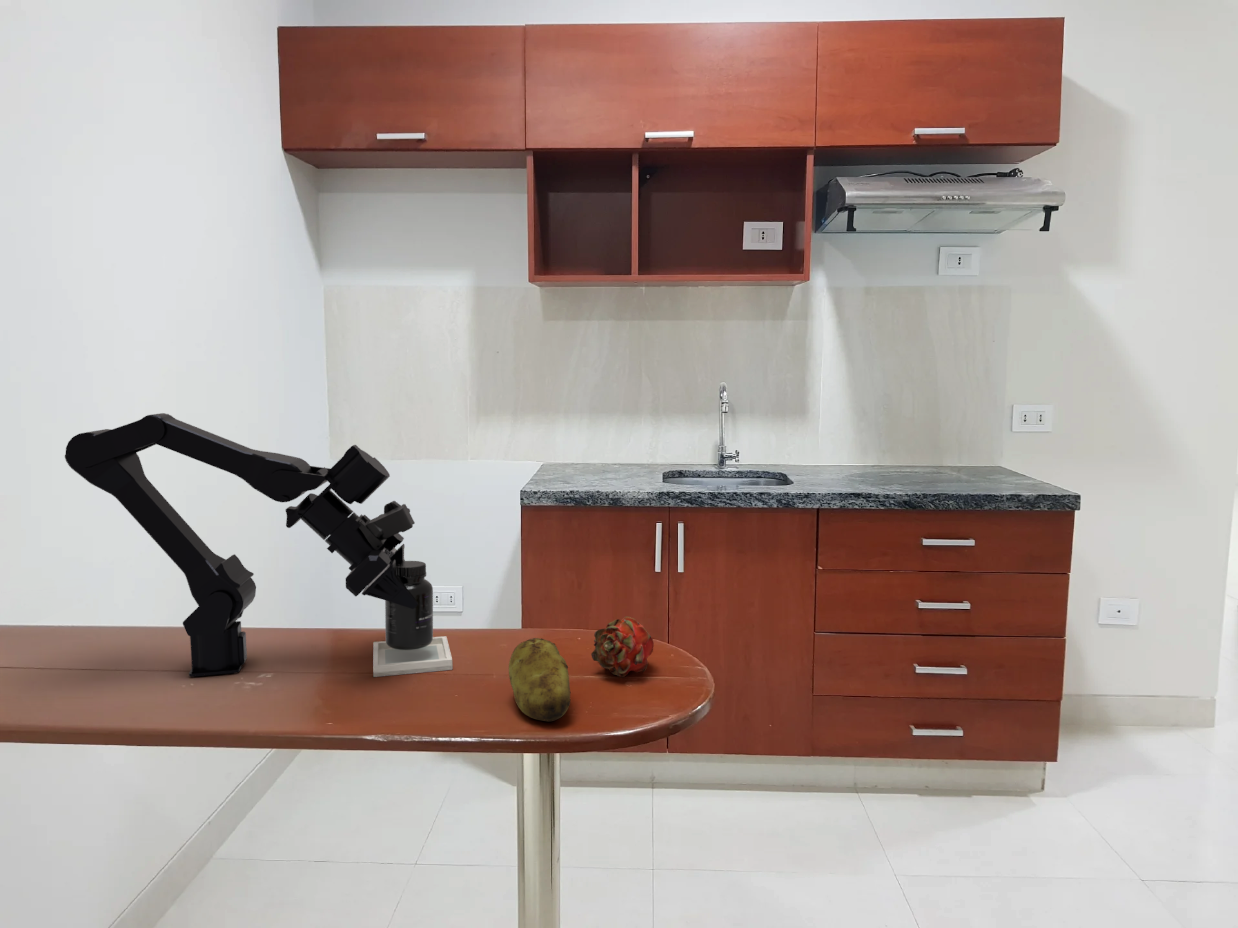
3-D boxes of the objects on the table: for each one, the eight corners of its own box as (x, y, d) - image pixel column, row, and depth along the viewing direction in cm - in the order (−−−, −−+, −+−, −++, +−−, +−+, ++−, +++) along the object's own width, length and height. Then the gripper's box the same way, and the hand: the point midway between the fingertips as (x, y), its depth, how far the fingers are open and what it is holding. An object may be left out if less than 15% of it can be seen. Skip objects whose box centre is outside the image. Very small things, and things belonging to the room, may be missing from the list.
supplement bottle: (432, 650, 122) (431, 569, 121) (383, 652, 121) (381, 570, 120) (434, 635, 129) (433, 558, 128) (388, 636, 128) (386, 559, 126)
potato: (501, 729, 102) (500, 665, 101) (512, 688, 115) (511, 631, 114) (570, 729, 102) (569, 665, 101) (573, 688, 115) (573, 631, 114)
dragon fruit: (610, 699, 115) (622, 679, 127) (661, 664, 115) (669, 648, 126) (575, 646, 116) (590, 631, 128) (626, 611, 115) (636, 600, 127)
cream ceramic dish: (373, 676, 119) (373, 666, 119) (373, 651, 129) (373, 642, 129) (452, 669, 122) (452, 659, 122) (446, 645, 132) (446, 636, 132)
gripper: (368, 497, 113) (453, 576, 115) (388, 478, 131) (461, 547, 134) (308, 555, 113) (395, 634, 115) (336, 528, 131) (410, 596, 134)
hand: (418, 599), depth 125 cm, fingers closed on supplement bottle, 7 cm apart
